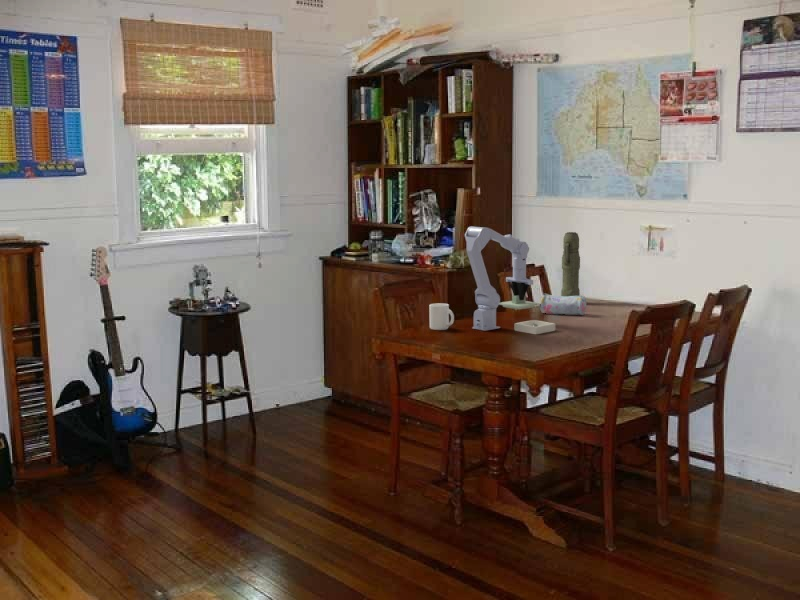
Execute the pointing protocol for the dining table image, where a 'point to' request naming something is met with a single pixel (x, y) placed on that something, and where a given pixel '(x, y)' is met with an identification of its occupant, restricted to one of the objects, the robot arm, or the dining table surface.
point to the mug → (440, 316)
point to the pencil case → (563, 304)
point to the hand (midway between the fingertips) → (519, 299)
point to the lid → (518, 303)
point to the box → (534, 327)
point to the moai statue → (570, 265)
